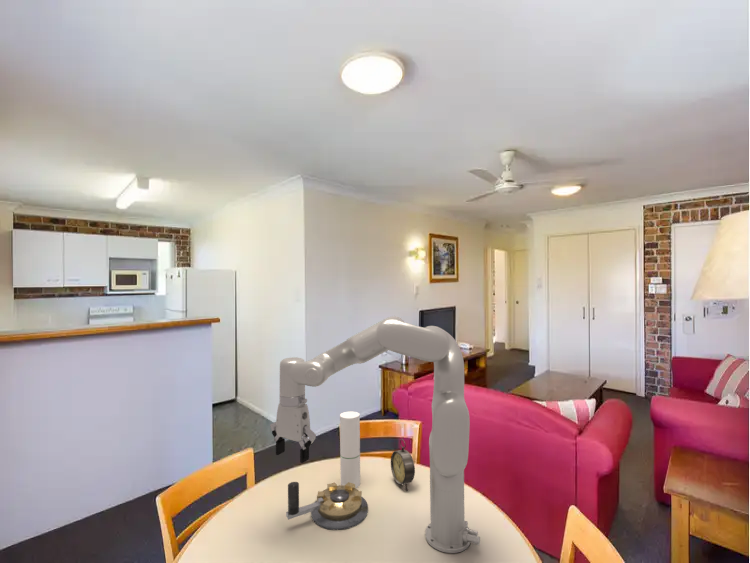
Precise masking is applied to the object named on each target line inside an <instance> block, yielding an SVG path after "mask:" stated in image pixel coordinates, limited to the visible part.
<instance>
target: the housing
mask: <svg viewBox="0 0 750 563" xmlns="http://www.w3.org/2000/svg"><path fill="white" fill-rule="evenodd" d="M315 502H317V499H316V500H315V501H314V502H313V503H315ZM368 512H369V504H368V502H367V500H366V499H365V497H363V496H362V507H361V510H360V511H359V512H358V513H357V514H356V515H355V516H353V517H351V518H348V519H344V520H330V519H326V518H324V517H322V516H321V515H320V514H319V512H318V510H316V511H313V512H310V516H311V519H312V521H313V523H315V525H317V526H318V527H320V528H322V529H325V530H330V531H342V530H349V529H351V528H354V527H356V526H358V525H360V524H361V523H362V522H363V521H365V519H366V518H367V516H368V514H367V513H368Z"/></svg>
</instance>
